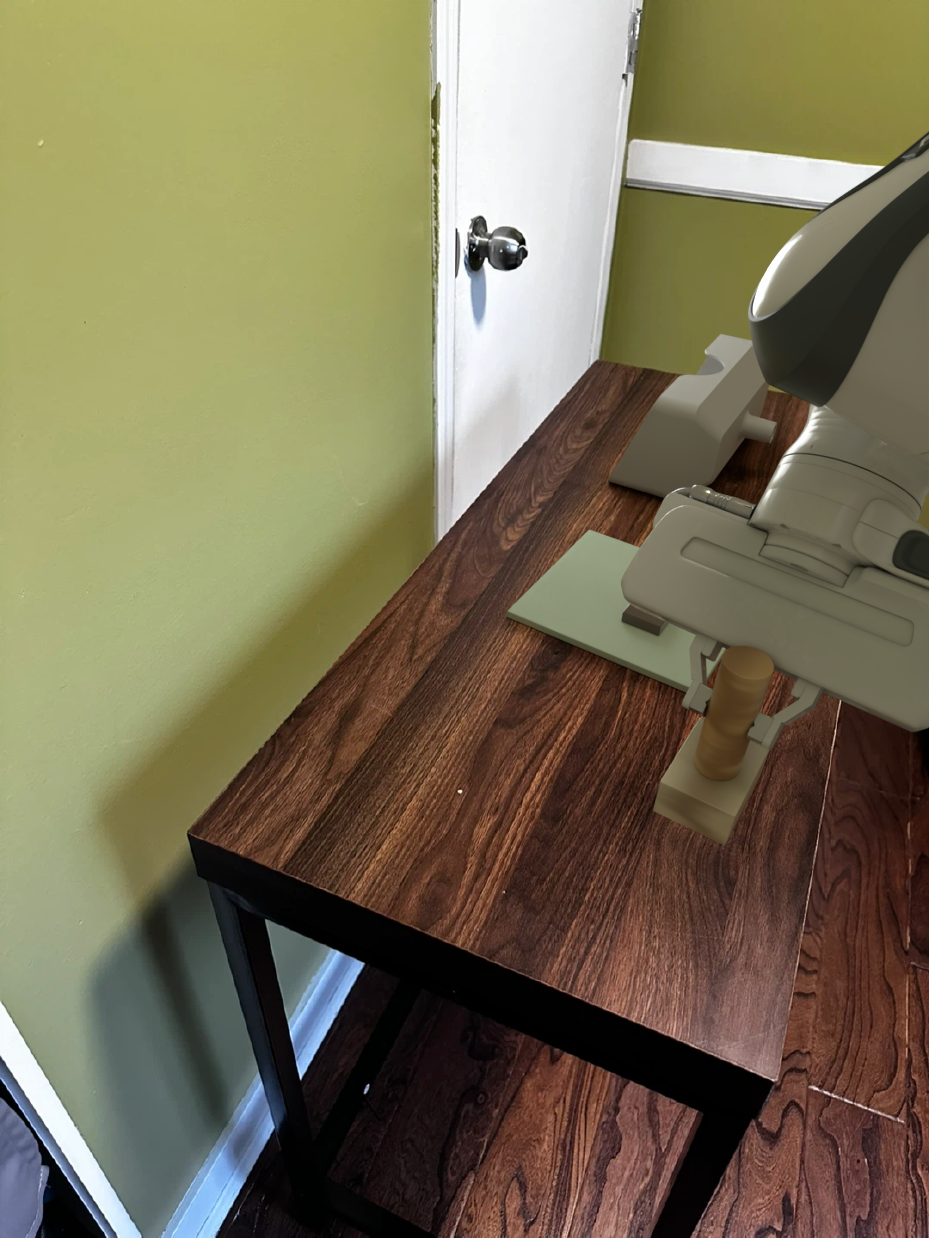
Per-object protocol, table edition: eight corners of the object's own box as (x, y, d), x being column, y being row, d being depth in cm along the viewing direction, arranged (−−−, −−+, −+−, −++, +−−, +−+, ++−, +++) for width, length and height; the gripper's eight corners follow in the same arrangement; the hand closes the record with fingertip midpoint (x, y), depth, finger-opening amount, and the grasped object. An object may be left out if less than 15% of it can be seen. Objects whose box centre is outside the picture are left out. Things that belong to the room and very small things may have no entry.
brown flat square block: (674, 615, 85) (676, 605, 84) (658, 636, 82) (660, 626, 81) (637, 600, 86) (639, 591, 86) (620, 621, 84) (622, 611, 83)
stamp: (760, 776, 59) (807, 645, 52) (725, 846, 55) (771, 713, 47) (691, 746, 61) (727, 616, 54) (652, 810, 57) (685, 678, 49)
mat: (761, 597, 89) (763, 591, 88) (697, 697, 77) (698, 691, 76) (588, 535, 97) (589, 529, 96) (506, 617, 85) (506, 610, 85)
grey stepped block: (731, 523, 100) (757, 425, 92) (604, 485, 106) (618, 389, 98) (785, 439, 117) (811, 350, 109) (673, 410, 123) (690, 323, 115)
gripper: (666, 458, 55) (569, 649, 56) (1008, 579, 46) (891, 809, 46) (684, 491, 61) (596, 664, 61) (994, 605, 51) (889, 810, 51)
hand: (725, 728), depth 53 cm, fingers closed on stamp, 3 cm apart
